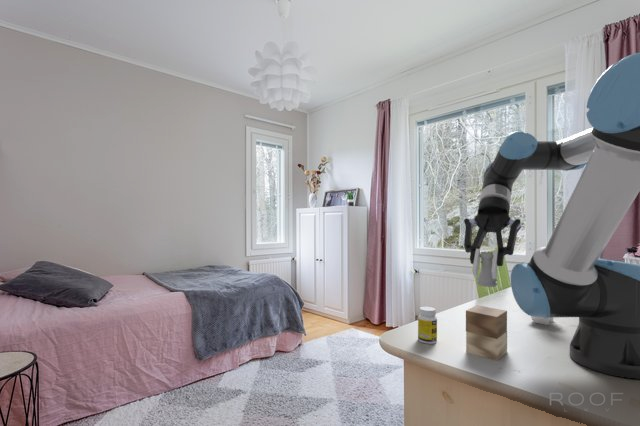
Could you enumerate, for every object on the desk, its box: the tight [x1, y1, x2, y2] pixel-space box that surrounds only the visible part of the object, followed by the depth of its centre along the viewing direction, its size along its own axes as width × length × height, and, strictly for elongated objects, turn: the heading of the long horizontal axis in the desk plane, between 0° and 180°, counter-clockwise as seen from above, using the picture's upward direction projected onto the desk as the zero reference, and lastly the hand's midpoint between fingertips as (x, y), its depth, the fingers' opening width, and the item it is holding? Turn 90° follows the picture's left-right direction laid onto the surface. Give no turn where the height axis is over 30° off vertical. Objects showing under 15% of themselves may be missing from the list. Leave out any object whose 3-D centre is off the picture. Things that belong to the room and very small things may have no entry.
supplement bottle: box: [417, 306, 438, 345], centre depth 89 cm, size 5×5×8 cm
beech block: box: [465, 331, 508, 361], centre depth 82 cm, size 7×7×5 cm
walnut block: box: [465, 304, 508, 339], centre depth 82 cm, size 7×7×5 cm
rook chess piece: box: [476, 251, 498, 288], centre depth 82 cm, size 4×4×8 cm
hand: (484, 274), depth 79 cm, fingers closed on rook chess piece, 3 cm apart
